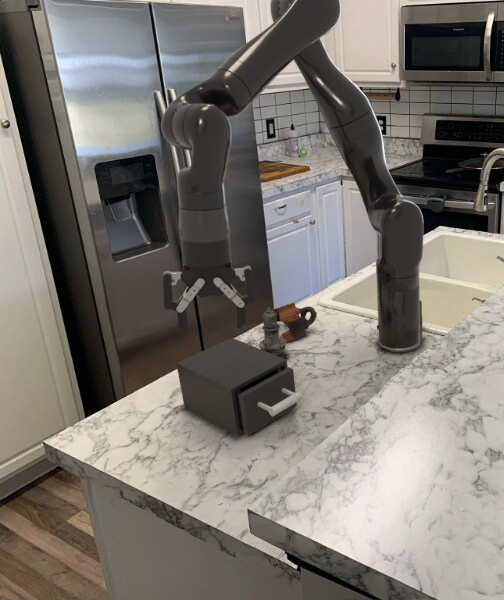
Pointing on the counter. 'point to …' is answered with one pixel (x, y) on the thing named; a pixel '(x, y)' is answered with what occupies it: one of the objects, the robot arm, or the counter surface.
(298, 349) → the counter surface
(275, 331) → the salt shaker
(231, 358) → the small drawer cabinet
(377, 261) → the robot arm
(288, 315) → the pottery mug
